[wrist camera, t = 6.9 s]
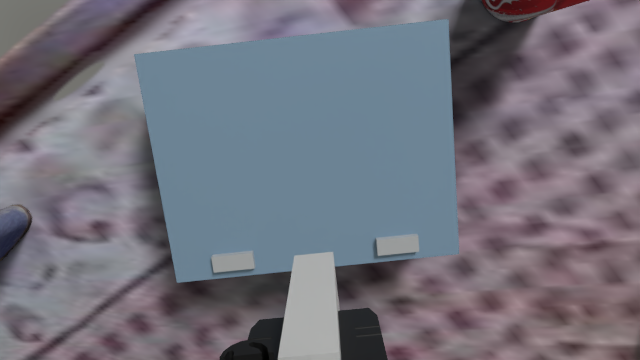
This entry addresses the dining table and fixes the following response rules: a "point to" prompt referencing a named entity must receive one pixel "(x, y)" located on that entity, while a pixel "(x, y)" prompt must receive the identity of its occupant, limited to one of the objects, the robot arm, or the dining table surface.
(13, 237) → the flask
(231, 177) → the cover
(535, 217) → the dining table surface
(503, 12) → the soda can
